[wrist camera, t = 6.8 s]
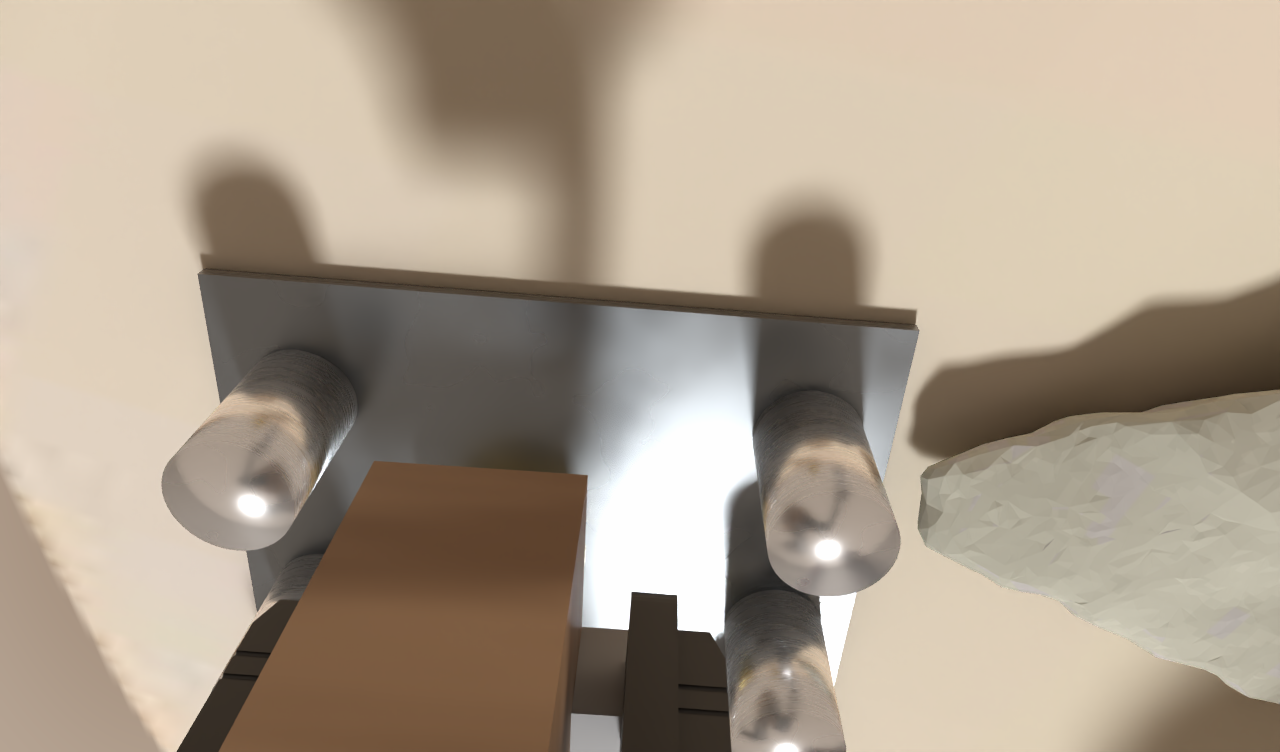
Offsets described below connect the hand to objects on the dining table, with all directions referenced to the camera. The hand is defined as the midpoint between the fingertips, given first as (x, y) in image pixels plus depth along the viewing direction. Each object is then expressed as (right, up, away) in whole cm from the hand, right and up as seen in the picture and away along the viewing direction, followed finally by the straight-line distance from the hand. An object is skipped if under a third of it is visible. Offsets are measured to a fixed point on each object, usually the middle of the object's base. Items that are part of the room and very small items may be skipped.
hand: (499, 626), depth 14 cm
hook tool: (-1, -3, +2) cm, 4 cm away
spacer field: (0, -1, +10) cm, 10 cm away
